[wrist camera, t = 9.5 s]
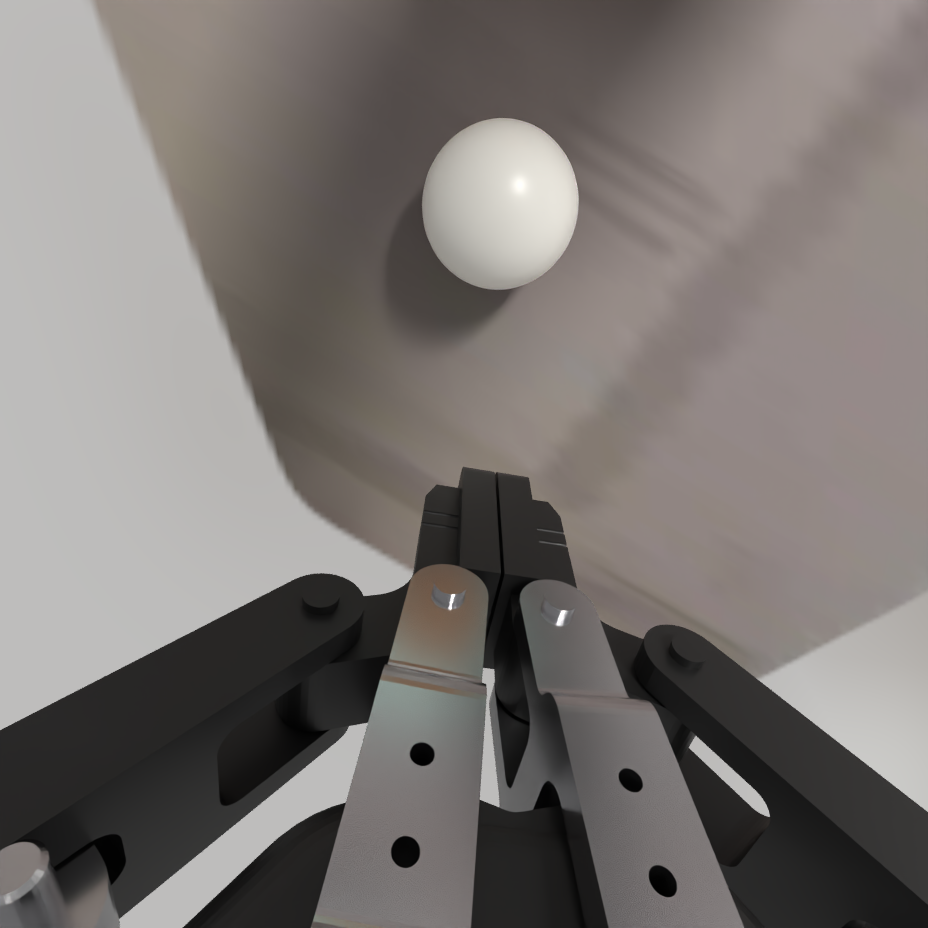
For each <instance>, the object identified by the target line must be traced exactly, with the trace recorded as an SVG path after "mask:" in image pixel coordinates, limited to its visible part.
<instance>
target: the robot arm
mask: <svg viewBox="0 0 928 928" xmlns="http://www.w3.org/2000/svg"><path fill="white" fill-rule="evenodd" d="M563 532H564V531H563V527H562V522H561V518H560V516H559V515H558V513H557V512H556V511H555V510H554V509H553V507H552V506H551V505H550V504H549V503H548V502H544V501H537V500H532V494H531V488H530V482H529V478H528V477H523V476H517V475H511V474H504V473H498V472H497V473H496V474H495V472H491V471H485V470H479V469H473V468H466V467H463V468H462V472H461V476H460V481H459V486H458V488H455V487H448V486H442V485H436V486H435V487H434V488H433V489H432V490H431V491H430V492H429V493H428V494H427V495H426V498H425V504H424V510H423V516H422V522H421V528H420V534H419V540H418V546H417V552H416V559H415V565H414V572H413V576H412V578H411V579H410V580H409V582H408V583H407V584H405V585H404V586H403V587H401V588H399V589H397V590H395V591H392V592H389V593H386V594H381V595H371V596H363V594H362V592H361V591H360V589H359V588H358V587H357V586H356V585H355V584H354V583H352V582H351V581H349V580H347V579H345V578H343V577H340V576H337V575H332V574H322V573H321V574H310V575H306V576H303V577H299V578H297V579H295V580H292V581H291V582H289V583H287V584H285V585H283V586H281V587H279V588H277V589H275V590H273V591H271V592H270V593H267V594H265V595H263V596H261V597H259V598H257V599H255V600H253V601H252V602H250V603H248V604H246V605H244V606H242V607H240V608H238V609H236V610H234V611H232V612H230V613H228V614H226V615H224V616H222V617H220V618H218V619H217V620H214V621H212V622H211V623H209V624H207V625H205V626H203V627H201V628H199V629H197V630H195V631H194V632H191V633H189V634H187V635H185V636H183V637H181V638H179V639H177V640H175V641H174V642H172V643H170V644H168V645H166V646H164V647H162V648H160V649H158V650H156V651H154V652H152V653H150V654H148V655H146V656H144V657H142V658H140V659H138V660H136V661H135V662H132V663H131V664H129V665H127V666H125V667H123V668H121V669H119V670H117V671H115V672H113V673H111V674H109V675H107V676H105V677H103V678H102V679H100V680H97V681H95V682H94V683H92V684H90V685H88V686H86V687H84V688H82V689H80V690H78V691H76V692H74V693H72V694H70V695H68V696H66V697H64V698H62V699H60V700H58V701H56V702H54V703H52V704H51V705H49V706H47V707H45V708H43V709H41V710H39V711H37V712H35V713H33V714H31V715H29V716H27V717H25V718H23V719H21V720H20V721H17V722H15V723H14V724H12V725H10V726H8V727H6V728H4V729H2V730H0V928H120V922H119V919H120V918H121V917H122V916H123V915H124V914H126V913H127V912H128V911H129V910H131V909H132V908H133V907H134V906H135V905H137V904H138V903H139V902H140V901H142V900H143V899H144V898H145V897H146V896H148V895H149V894H150V893H151V892H153V891H154V890H155V889H156V888H158V887H159V886H160V885H161V884H163V883H164V882H165V881H166V880H167V879H169V878H170V877H171V876H172V875H173V874H175V873H176V872H177V871H178V870H179V869H181V868H182V867H183V866H184V865H186V864H187V863H188V862H189V861H191V860H192V859H193V858H194V857H196V856H197V855H198V854H199V853H201V852H202V851H203V850H204V849H205V848H207V847H208V846H209V845H210V844H212V843H213V842H214V841H215V840H216V839H218V838H219V837H220V836H221V835H223V834H224V833H225V832H226V831H227V830H229V829H230V828H231V827H232V826H234V825H235V824H236V823H237V822H239V821H240V820H241V819H242V818H243V817H245V816H246V815H247V814H248V813H250V812H251V811H252V810H253V809H254V808H256V807H257V806H258V805H259V804H261V803H262V802H263V801H264V800H266V799H267V798H268V797H269V796H270V795H272V794H273V793H274V792H275V791H276V790H278V789H279V788H280V787H282V786H283V785H284V784H285V783H286V782H288V781H289V780H290V779H291V778H293V777H294V776H295V775H296V774H297V773H299V772H300V771H301V770H302V769H304V768H305V767H306V766H307V765H308V764H310V763H311V762H312V761H313V760H315V759H316V758H317V757H318V756H319V755H321V754H322V753H323V752H324V751H326V750H327V749H328V748H329V747H330V746H332V745H333V744H334V743H336V742H337V741H338V740H339V739H340V738H341V737H342V736H343V735H344V734H345V732H346V731H347V729H348V727H349V726H351V725H357V724H362V723H368V725H367V729H366V732H365V736H364V739H363V743H362V747H361V750H360V754H359V757H358V761H357V765H356V768H355V772H354V775H353V779H352V783H351V786H350V790H349V794H348V797H347V801H346V803H343V804H340V805H336V806H333V807H330V808H328V809H326V810H323V811H321V812H318V813H316V814H314V815H312V816H310V817H309V818H307V819H305V820H304V821H302V822H300V823H298V824H296V825H295V826H294V827H292V828H291V829H290V830H288V831H287V832H286V833H284V834H283V835H282V836H280V837H279V838H278V839H277V840H276V841H274V842H273V843H272V844H271V845H270V846H269V847H268V848H267V849H266V850H265V851H263V853H261V855H259V856H258V857H257V858H256V859H255V860H254V861H253V862H252V863H251V864H250V865H249V866H248V867H247V868H245V870H243V871H242V872H241V873H240V874H239V875H238V876H237V877H236V878H235V879H234V880H233V881H232V882H231V883H230V884H229V885H228V886H227V887H226V888H225V889H223V890H222V891H221V892H220V893H219V894H218V895H217V896H216V897H215V898H214V899H213V900H212V901H211V902H209V903H208V904H207V905H206V906H205V907H204V908H203V909H202V910H201V911H200V912H199V913H198V914H197V915H196V916H195V917H194V918H193V919H191V920H190V921H189V922H188V924H186V925H185V926H184V927H183V928H928V812H927V811H926V810H924V809H923V808H922V807H920V806H919V805H918V804H917V803H915V802H914V801H913V800H911V799H910V798H909V797H907V796H906V795H905V794H904V793H902V792H901V791H900V790H899V789H897V788H896V787H895V786H893V785H892V784H891V783H890V782H888V781H887V780H886V779H884V778H883V777H882V776H881V775H879V774H878V773H877V772H875V771H874V770H873V769H872V768H870V767H869V766H868V765H866V764H865V763H864V762H863V761H861V760H860V759H859V758H858V757H856V756H855V755H854V754H852V753H851V752H850V751H849V750H847V749H846V748H845V747H843V746H842V745H841V744H840V743H838V742H837V741H836V740H834V739H833V738H832V737H831V736H829V735H828V734H827V733H825V732H824V731H823V730H822V729H820V728H819V727H818V726H816V725H815V724H814V723H813V722H811V721H810V720H809V719H808V718H806V717H805V716H804V715H802V714H801V713H800V712H799V711H797V710H796V709H795V708H793V707H792V706H791V705H789V704H788V703H787V702H786V701H784V700H783V699H782V698H781V697H779V696H778V695H777V694H775V693H774V692H772V690H770V689H769V688H768V687H766V686H765V685H764V684H763V683H761V682H760V681H759V680H757V679H756V678H755V677H754V676H752V675H751V674H750V673H748V672H747V671H746V670H745V669H743V668H742V667H741V666H739V665H738V664H737V663H736V662H734V661H733V660H732V659H731V658H729V657H728V656H727V655H725V654H724V653H723V652H722V651H720V650H719V649H718V648H716V647H715V646H714V645H713V644H711V643H710V642H709V641H707V640H706V639H705V638H703V637H702V636H700V635H698V634H697V633H695V632H693V631H690V630H688V629H685V628H683V627H679V626H675V625H659V626H655V627H653V628H651V629H650V630H649V631H648V632H647V633H646V635H645V637H644V639H641V638H638V637H636V636H633V635H631V634H628V633H625V632H623V631H620V630H618V629H615V628H613V627H611V626H609V625H607V624H605V623H604V622H602V621H601V620H600V619H599V616H598V613H597V610H596V608H595V606H594V604H593V603H592V601H591V600H590V599H589V598H588V597H587V596H586V595H585V594H584V593H583V592H581V591H580V590H578V589H577V587H576V582H575V578H574V574H573V569H572V565H571V561H570V557H569V552H568V548H567V547H566V539H565V535H563ZM483 668H490V669H494V671H495V683H494V686H493V690H492V693H491V697H490V702H489V708H490V717H491V726H492V734H493V744H494V754H495V761H496V772H497V781H498V790H499V802H500V803H499V804H500V808H499V807H496V806H494V805H491V804H489V803H486V802H484V801H481V800H480V786H481V785H480V784H481V770H482V755H483V741H484V727H485V711H486V696H487V688H486V684H484V683H482V672H483ZM695 736H697V737H698V738H699V739H700V740H702V741H703V742H704V743H705V744H706V745H707V746H708V747H709V748H710V749H711V750H712V751H713V752H715V753H716V754H717V755H718V756H719V757H720V758H721V759H722V760H723V761H724V762H725V763H727V764H728V765H729V766H730V767H731V768H732V769H733V770H734V771H735V772H736V773H737V774H739V775H740V776H741V777H742V778H743V779H744V780H745V781H746V782H747V783H748V784H749V785H751V786H752V787H753V788H754V789H755V790H756V791H757V792H758V793H759V794H760V795H761V797H762V798H763V800H764V801H765V803H766V805H767V807H768V810H769V813H770V817H767V816H764V815H762V814H760V813H758V812H757V811H755V810H754V809H753V808H752V807H751V806H750V805H749V804H748V803H747V802H745V801H744V800H743V799H742V798H741V797H740V796H739V795H738V794H737V793H736V792H735V791H734V790H733V789H732V788H730V786H729V785H727V784H726V783H725V782H724V781H723V780H722V779H721V778H720V777H719V776H718V775H717V774H716V773H715V772H714V771H713V770H711V769H710V768H709V767H708V766H707V765H706V764H705V763H704V762H703V761H702V760H701V759H700V758H699V757H698V756H697V755H696V754H695V753H694V752H692V751H691V750H690V749H689V746H690V744H691V742H692V741H693V739H694V737H695Z"/></svg>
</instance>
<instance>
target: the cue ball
mask: <svg viewBox="0 0 928 928" xmlns="http://www.w3.org/2000/svg"><path fill="white" fill-rule="evenodd" d="M578 202H579V197H578V187H577V183H576V178H575V174H574V171H573V169H572V166H571V164H570V162H569V160H568V158H567V156H566V154H565V153H564V152H563V150H562V149H561V148H560V146H559V145H558V144H557V143H556V142H555V141H554V140H553V139H552V138H551V137H550V136H549V135H548V134H547V133H545V132H544V131H543V130H541V129H540V128H538V127H536V126H534V125H532V124H530V123H527V122H524V121H521V120H516V119H511V118H495V119H488V120H484V121H480V122H478V123H475V124H472V125H470V126H468V127H467V128H465V129H463V130H462V131H460V132H459V133H458V134H456V135H455V136H454V137H452V138H451V139H450V140H449V141H448V142H447V143H446V144H445V145H444V146H443V148H442V149H441V150H440V152H439V153H438V155H437V156H436V158H435V160H434V162H433V163H432V165H431V167H430V169H429V172H428V175H427V177H426V181H425V186H424V190H423V198H422V214H423V222H424V228H425V231H426V234H427V237H428V240H429V242H430V244H431V246H432V249H433V250H434V252H435V254H436V255H437V257H438V258H439V260H440V261H441V262H442V263H443V265H444V266H445V267H446V268H447V269H448V270H449V271H451V272H452V273H453V274H454V275H456V276H457V277H458V278H460V279H462V280H463V281H465V282H467V283H469V284H471V285H474V286H477V287H480V288H485V289H493V290H505V289H512V288H516V287H520V286H523V285H525V284H527V283H530V282H532V281H534V280H535V279H537V278H539V277H540V276H542V275H543V274H544V273H546V272H547V271H548V270H549V269H550V268H551V267H552V266H553V265H554V264H555V263H556V262H557V261H558V259H559V258H560V257H561V256H562V254H563V253H564V251H565V249H566V248H567V246H568V244H569V242H570V240H571V237H572V235H573V232H574V229H575V226H576V221H577V216H578Z"/></svg>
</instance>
